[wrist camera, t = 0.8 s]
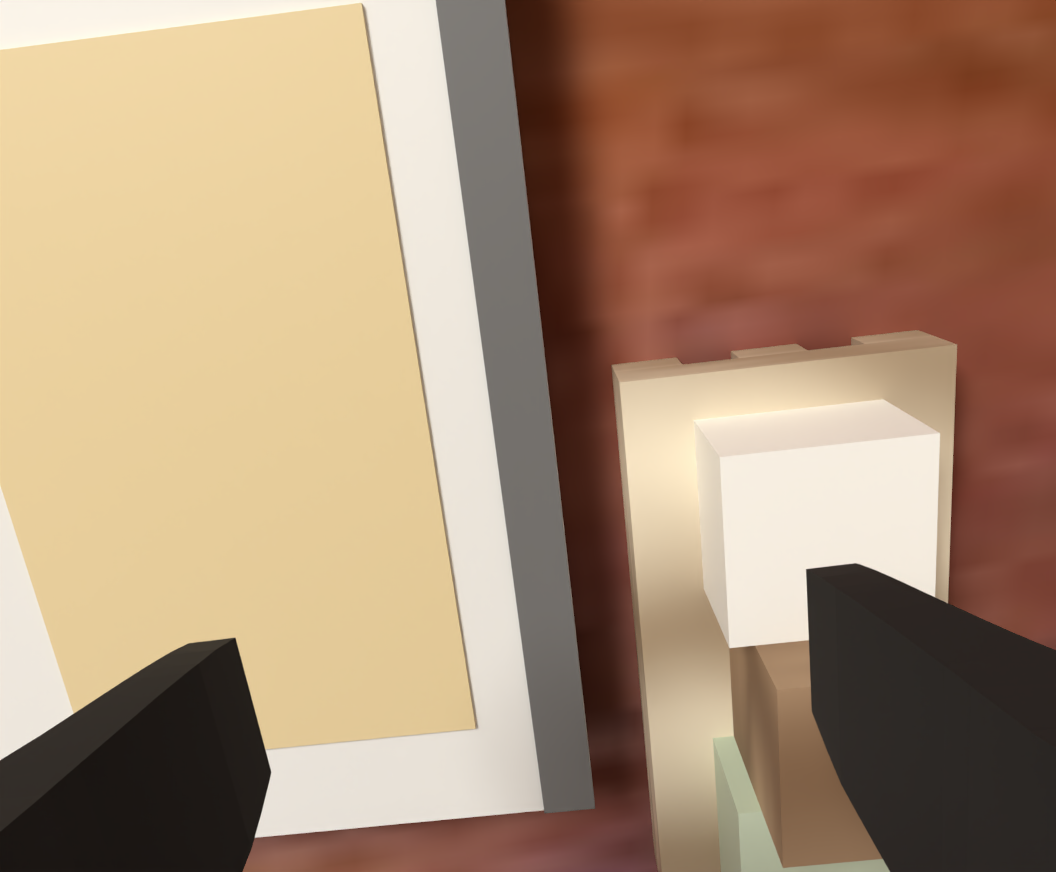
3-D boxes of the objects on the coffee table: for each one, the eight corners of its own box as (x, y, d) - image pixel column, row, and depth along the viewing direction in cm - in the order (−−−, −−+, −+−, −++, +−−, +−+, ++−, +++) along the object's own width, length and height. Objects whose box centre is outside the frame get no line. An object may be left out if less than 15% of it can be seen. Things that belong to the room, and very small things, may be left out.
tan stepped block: (903, 824, 23) (1028, 1037, 17) (653, 847, 23) (694, 1064, 17) (913, 328, 19) (1081, 390, 13) (610, 363, 19) (645, 437, 13)
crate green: (879, 856, 21) (925, 943, 18) (721, 871, 21) (745, 959, 18) (880, 721, 20) (929, 795, 17) (713, 738, 20) (738, 814, 17)
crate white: (881, 570, 18) (933, 627, 16) (703, 589, 19) (729, 648, 16) (882, 399, 17) (939, 433, 15) (693, 420, 17) (719, 457, 15)
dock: (587, 737, 22) (595, 808, 19) (74, 787, 22) (17, 863, 20) (491, -126, 16) (483, -184, 14) (-198, -33, 17) (-325, -72, 14)
